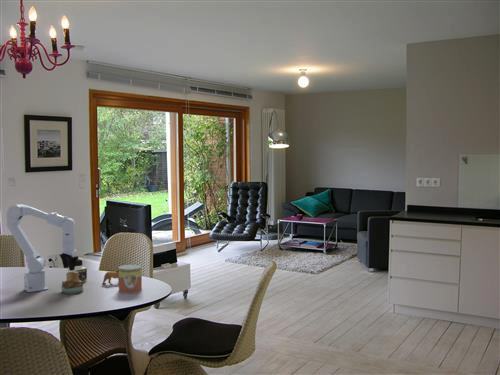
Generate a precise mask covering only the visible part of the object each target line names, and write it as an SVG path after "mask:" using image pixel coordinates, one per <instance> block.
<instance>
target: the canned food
mask: <svg viewBox="0 0 500 375" xmlns="http://www.w3.org/2000/svg"><path fill="white" fill-rule="evenodd" d="M117 268H118V270H119V282H118V292H119V293H120V294H130V295H131V294H137V293H141V292H142V291H143V288H142V287H143V286H142V285H143V284H142V283H143V282H142V276H143V274H142V272H143V271H142V268H143V267H142V265H140V264H124V265H119V266H118V267H117Z"/></svg>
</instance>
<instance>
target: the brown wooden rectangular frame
mask: <svg viewBox="0 0 500 375" xmlns="http://www.w3.org/2000/svg"><path fill="white" fill-rule="evenodd" d="M61 284H62V285H61V288H62V287H64V288H66V289H69V288H75V287H82V286H83V287H84V282H83V281H81V280H79V282H73V283H67V280H65V281H62V282H61Z"/></svg>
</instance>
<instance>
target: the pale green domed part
mask: <svg viewBox="0 0 500 375" xmlns="http://www.w3.org/2000/svg"><path fill="white" fill-rule="evenodd" d="M83 292H84V285H83V286H82V287H75V288H69V289H66V288H64V287H62V286H61V293H62V294H64V295H76V294H80V293H83Z"/></svg>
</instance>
